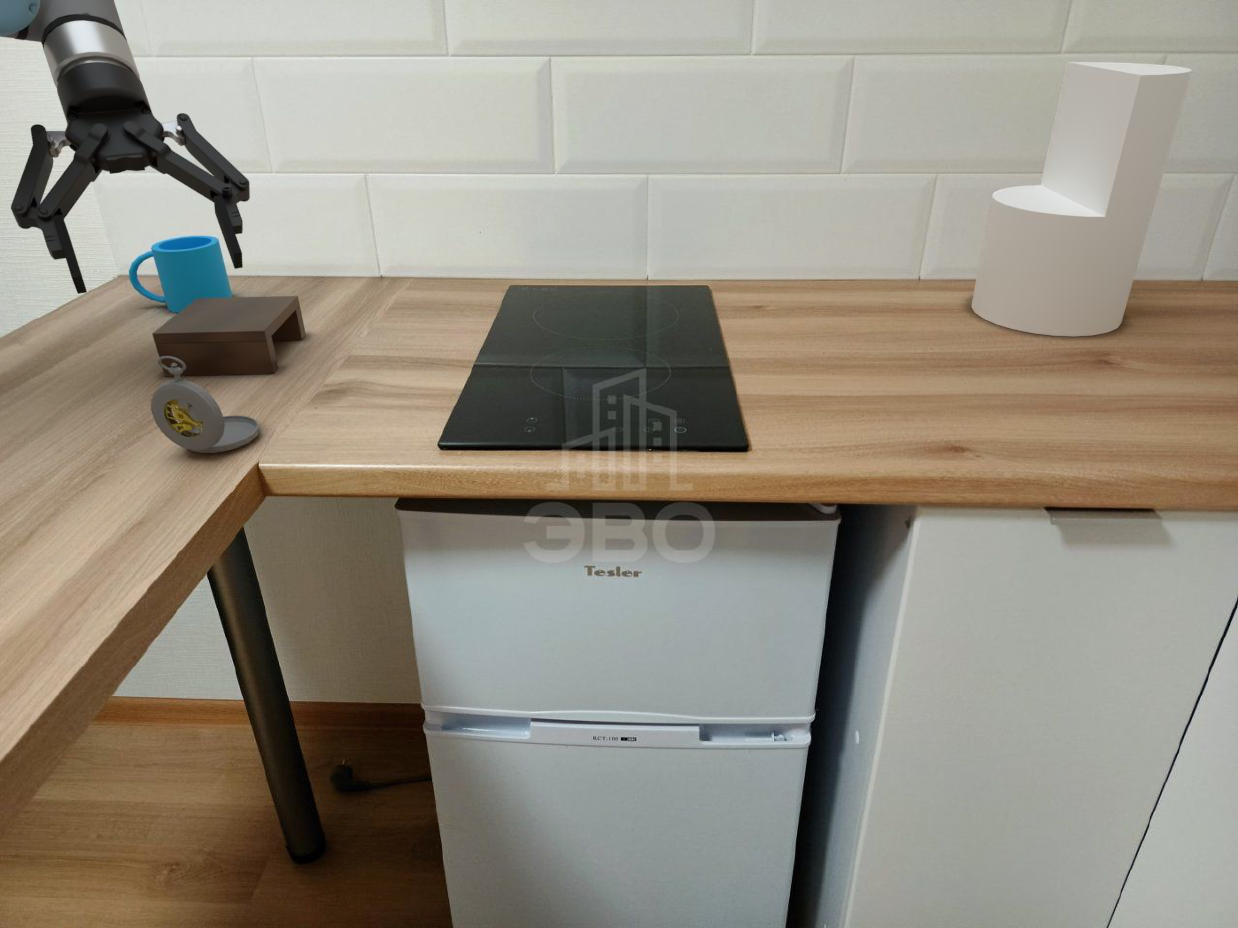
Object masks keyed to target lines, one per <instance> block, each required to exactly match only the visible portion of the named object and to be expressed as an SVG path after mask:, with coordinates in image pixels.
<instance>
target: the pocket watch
mask: <svg viewBox="0 0 1238 928" xmlns="http://www.w3.org/2000/svg"><path fill="white" fill-rule="evenodd" d="M164 358H169V359H174V360H176V361H178V362H179V363H181V364H182V366H183V368H182V369H181V368H179V367H176V366H177V364H175V363H172V365H171V368H168V367H166V366H164V365H163V364H162V363H161V361H162V359H164ZM157 363H158V365H159V366H160V367H161V368H162V367H163V368H164V369H166V370H169V372H170V373H171V374H173V375H174V376H173V378H174V379H169V380H168V381H165V382H164V383H162V384H161V385H159V386H158V387H157V388H156V390H155V391H154V393H153V394H152V396H151V398H150V399H151V400H150V410H151V411H150V412H151V414H152V417H153V420H154V422H155V424H156V426H157V427H158V429H159V430H160V432H161V433H162V434H163V435H164V436H165V437H166V438H167V439H168V440H169V441H171V442H172V443H174V444H175V445H177V446H179V447H180V448H183V449H186V450H189V451H192V452H194V453H201V454H215V453H216V454H217V453H222V452H223V453H224V452H227V451H232V450H235V449H238V448H241V447H243V446H245V445H247V444H249V443H250V442H251V441H253V440H254V439H256V438H257V436H258V435H259V433H260V424H259V422H258V420H257V419H255V418H253V417H251V416H247V415H239V414H237V415H224V414H223V413H222V410H221V407H220V405H219V404H218V403H217V401H216V400H215V399H214V397H213V396H211V395H210V393H209V392H208V391H207V390H205V389H204V388H202V387H201V386H199V385H198V384H196V383H194V382H192V381H190V380H185V379H182V376H180V374H182V372H183V371H184V370H185V369H186V365H185V363H184V362H182V361H181V360H179V359H178V358H175V357H171V356H162V357H160V358H159V357H158V359H157Z"/></svg>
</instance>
